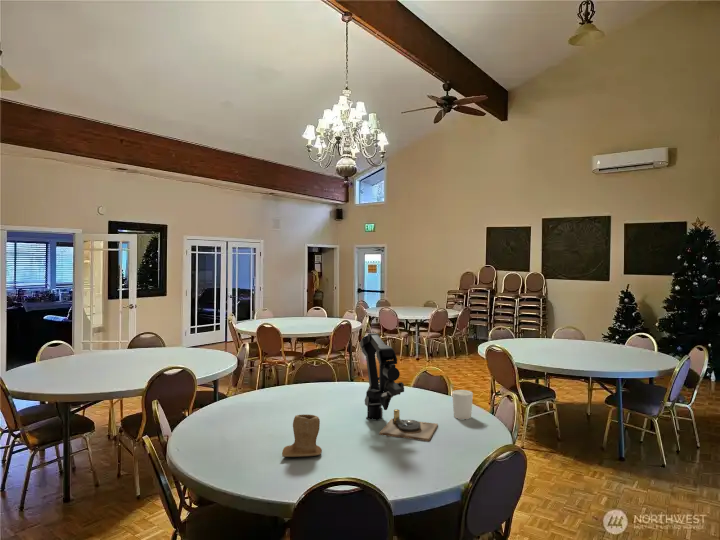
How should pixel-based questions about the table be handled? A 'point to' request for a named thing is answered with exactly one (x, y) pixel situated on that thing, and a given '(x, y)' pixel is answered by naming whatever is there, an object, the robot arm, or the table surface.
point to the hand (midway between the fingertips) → (385, 409)
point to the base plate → (422, 434)
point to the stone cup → (304, 437)
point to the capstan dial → (405, 423)
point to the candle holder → (462, 404)
